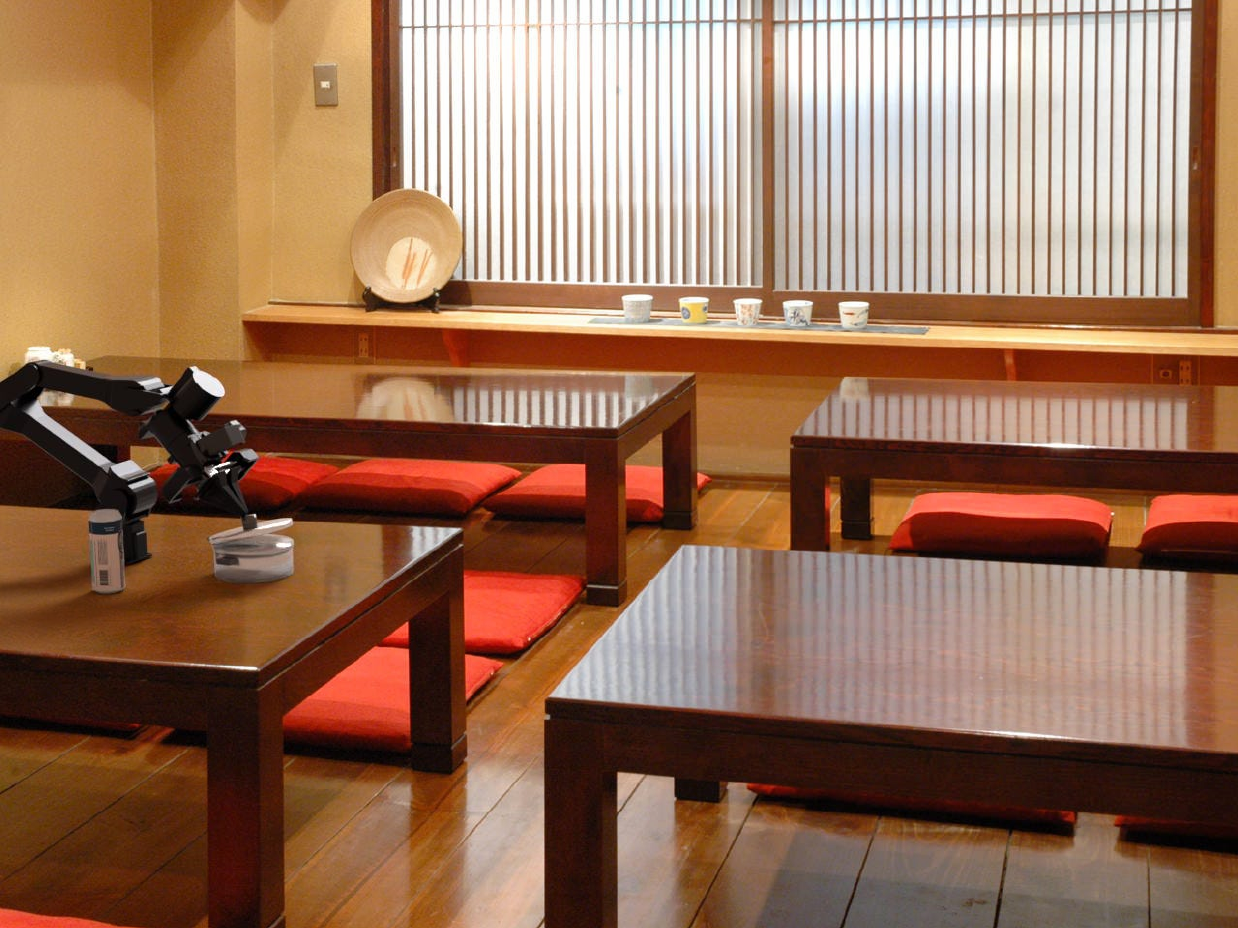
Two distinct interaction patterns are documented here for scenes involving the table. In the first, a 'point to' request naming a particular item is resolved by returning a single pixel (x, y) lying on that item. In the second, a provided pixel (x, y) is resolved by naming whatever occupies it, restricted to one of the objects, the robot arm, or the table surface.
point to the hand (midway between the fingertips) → (245, 515)
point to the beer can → (106, 551)
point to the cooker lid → (250, 529)
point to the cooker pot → (254, 559)
